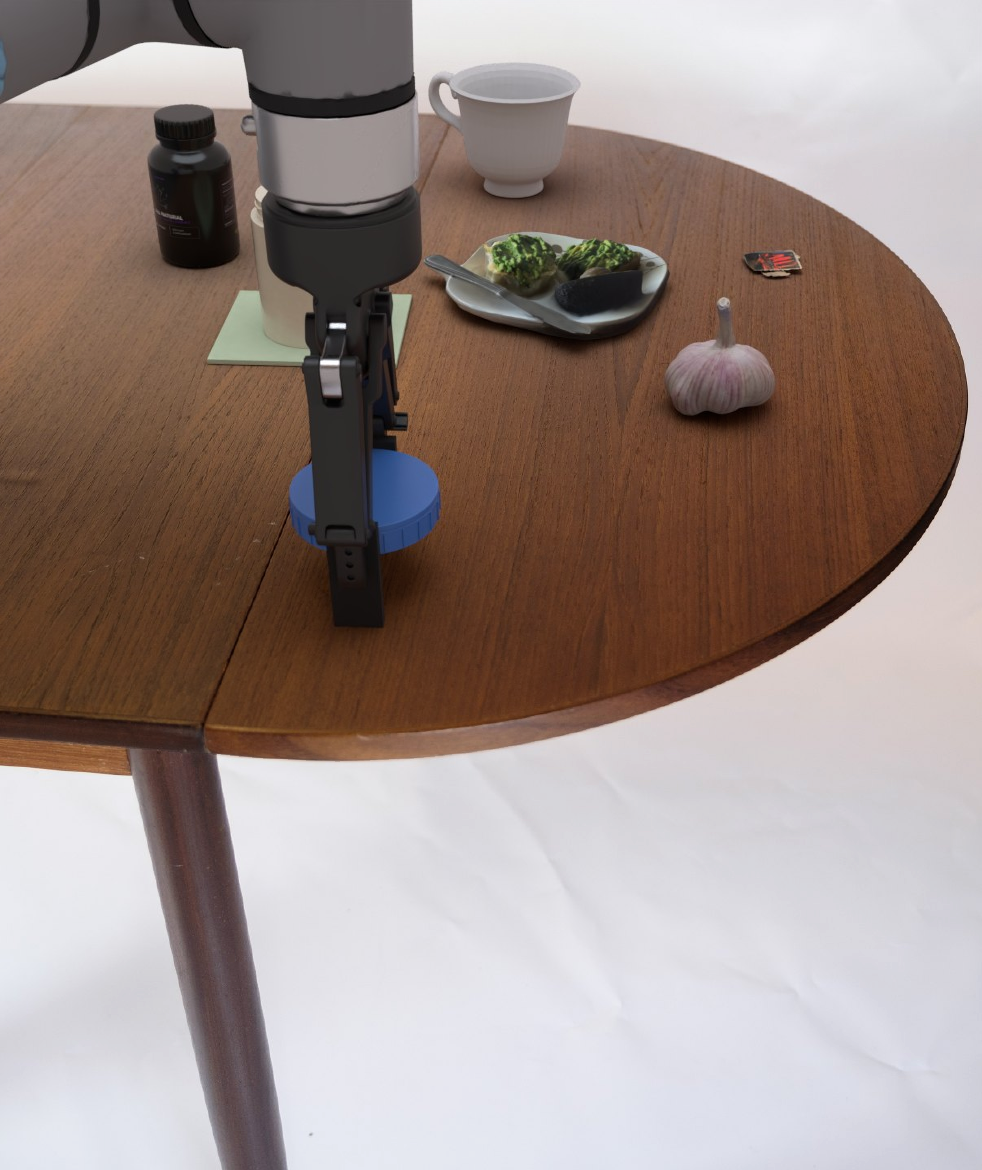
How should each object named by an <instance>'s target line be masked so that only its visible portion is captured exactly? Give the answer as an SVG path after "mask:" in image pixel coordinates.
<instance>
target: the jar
mask: <svg viewBox="0 0 982 1170" xmlns="http://www.w3.org/2000/svg"><path fill="white" fill-rule="evenodd" d="M267 192H268V191H267V190H266V189H265V188H264V187H263V186H262V185H261V184H260V186H258V188H256V190H255V192H254V200H253V204H254V207H253V208H252V209H251V211H250V214H249V215H250V216H249V218H250V225H251V236H252V244H253V253H254V261H255V269H256V271H255V272H256V279H257V288H258V291H259V298H260V306H261V315H262V324H263V331H264V333H265V334H266V336H267V337H268V338H269V339H271V340H272V341H274V342H276V343H278V344H281V345H284V346H288V347H293V348H302V349H309V348H308V346H307V345H306V342H305V315H306V312H314V311H313V296H312V295H311V294H309V293H308V292H306V291H304V290H302V289H300V288H298V287H293V286H290V285H288V284H286V283H284V282H283V281H281V280H280V279H279V278H277V277H276V276H275V275H274V273H273V272H272V271H271V269H270V267H269V264H268V260H267V251H266V243H265V234H264V225H263V216H262V208H261V202H262V199H263V198H264V196H265V195H266V193H267Z"/></svg>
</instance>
